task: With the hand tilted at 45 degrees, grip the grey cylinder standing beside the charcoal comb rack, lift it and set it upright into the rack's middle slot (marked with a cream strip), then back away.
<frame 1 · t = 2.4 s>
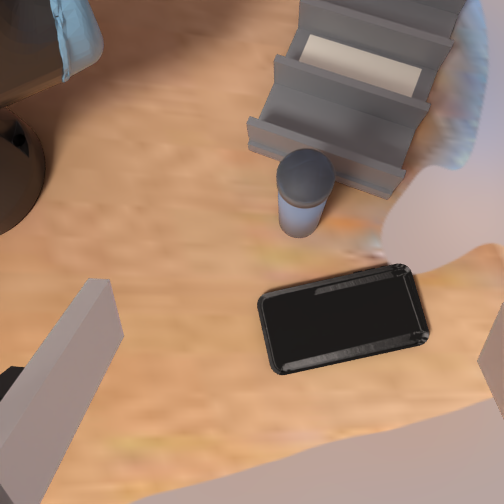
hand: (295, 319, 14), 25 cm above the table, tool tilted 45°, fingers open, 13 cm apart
phone: (339, 318, 40), on the table
comb rack: (353, 82, 43), on the table
grey cylinder: (298, 218, 41), on the table
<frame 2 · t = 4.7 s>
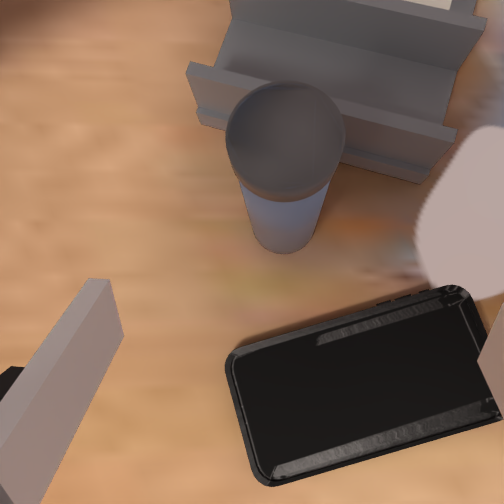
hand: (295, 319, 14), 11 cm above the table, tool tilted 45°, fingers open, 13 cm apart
phone: (359, 379, 24), on the table
comb rack: (352, 12, 29), on the table
grey cylinder: (283, 223, 26), on the table
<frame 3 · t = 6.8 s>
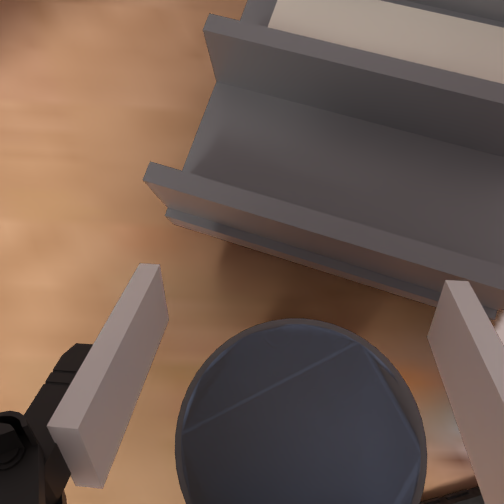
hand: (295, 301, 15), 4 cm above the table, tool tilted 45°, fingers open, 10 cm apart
comb rack: (379, 71, 21), on the table
grey cylinder: (285, 372, 19), on the table
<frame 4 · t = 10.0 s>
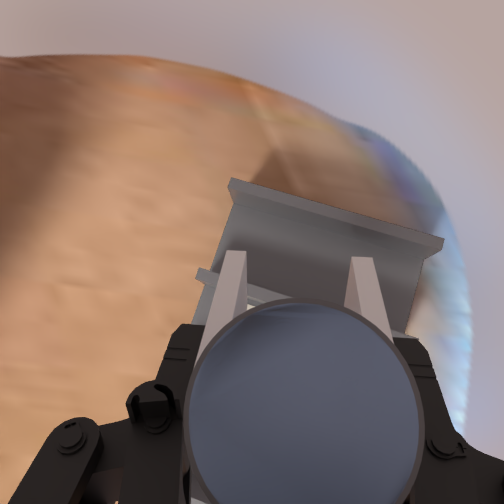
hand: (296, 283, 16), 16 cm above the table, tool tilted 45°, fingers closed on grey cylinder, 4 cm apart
comb rack: (286, 354, 31), on the table
grey cylinder: (290, 368, 19), point 12 cm above the table, touching gripper
when the fingers open (6 cm above the table, at t = 12.5 s): grey cylinder drops 1 cm, resting on comb rack.
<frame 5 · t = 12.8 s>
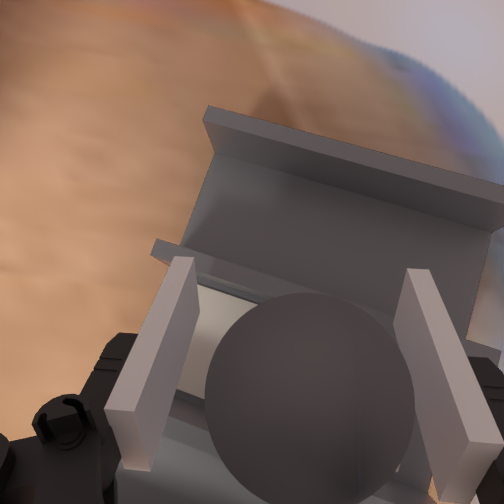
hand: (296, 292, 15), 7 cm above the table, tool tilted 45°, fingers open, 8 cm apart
comb rack: (289, 369, 21), on the table
grey cylinder: (288, 367, 20), point 2 cm above the table, touching comb rack
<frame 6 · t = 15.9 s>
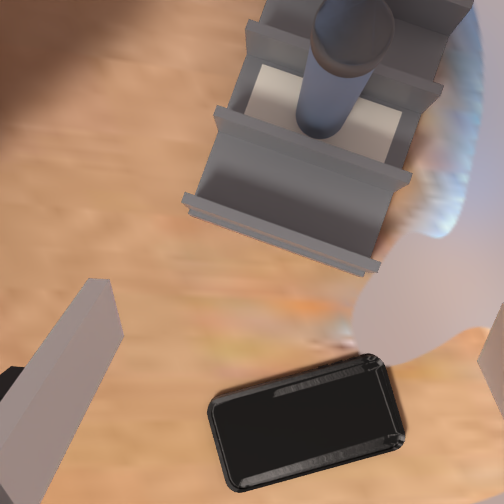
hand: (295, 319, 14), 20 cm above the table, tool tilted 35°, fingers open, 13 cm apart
phone: (303, 417, 34), on the table
comb rack: (318, 124, 35), on the table
grey cylinder: (320, 114, 33), point 2 cm above the table, touching comb rack
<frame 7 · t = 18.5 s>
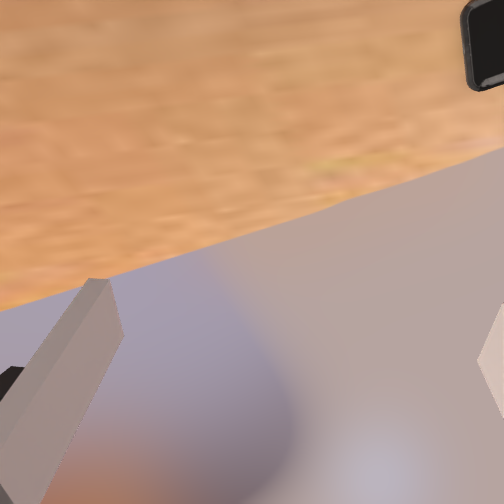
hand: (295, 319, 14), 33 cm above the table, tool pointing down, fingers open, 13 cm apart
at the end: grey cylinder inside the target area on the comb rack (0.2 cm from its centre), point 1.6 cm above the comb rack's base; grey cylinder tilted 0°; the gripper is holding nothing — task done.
